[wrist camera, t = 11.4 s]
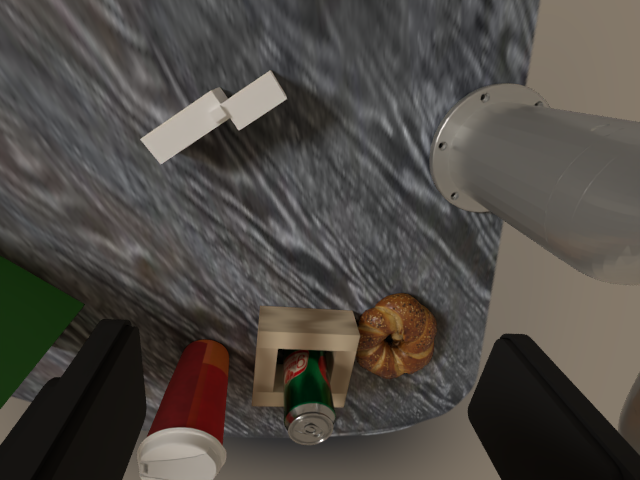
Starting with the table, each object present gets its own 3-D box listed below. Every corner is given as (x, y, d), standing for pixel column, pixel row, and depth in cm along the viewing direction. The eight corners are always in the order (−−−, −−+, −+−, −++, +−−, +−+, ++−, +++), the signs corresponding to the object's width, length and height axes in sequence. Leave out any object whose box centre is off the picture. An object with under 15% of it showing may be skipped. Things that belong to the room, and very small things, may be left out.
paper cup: (170, 377, 45) (130, 496, 33) (175, 328, 42) (132, 438, 30) (234, 383, 47) (218, 499, 34) (243, 336, 44) (230, 444, 31)
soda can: (300, 320, 44) (307, 403, 33) (331, 339, 46) (348, 424, 35) (274, 347, 45) (272, 436, 34) (306, 365, 47) (314, 454, 36)
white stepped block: (147, 167, 35) (124, 184, 30) (138, 31, 30) (109, 24, 25) (303, 182, 37) (307, 201, 32) (318, 58, 32) (325, 56, 27)
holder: (352, 310, 44) (360, 335, 40) (338, 378, 49) (343, 407, 44) (260, 305, 42) (258, 331, 38) (253, 376, 47) (251, 406, 43)
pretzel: (358, 286, 43) (364, 304, 40) (444, 292, 45) (457, 309, 41) (341, 364, 48) (346, 386, 45) (420, 367, 50) (430, 388, 46)
